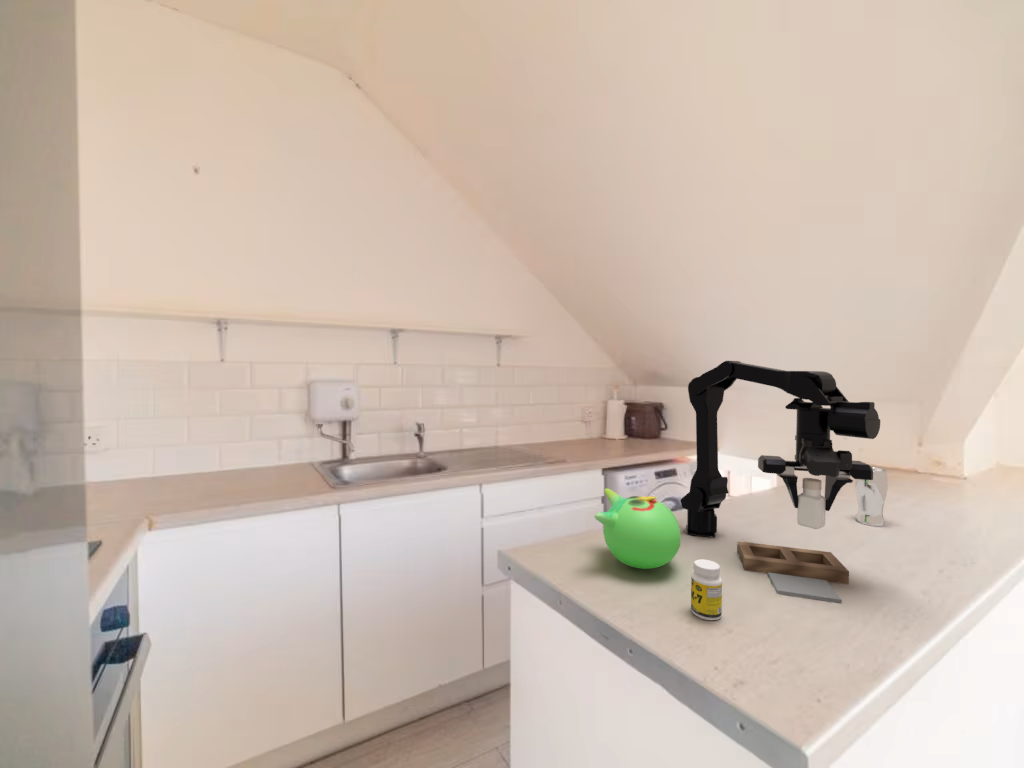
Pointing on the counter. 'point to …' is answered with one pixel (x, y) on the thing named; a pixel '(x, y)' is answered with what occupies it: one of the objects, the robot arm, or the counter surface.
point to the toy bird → (640, 530)
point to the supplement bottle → (706, 590)
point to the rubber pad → (803, 587)
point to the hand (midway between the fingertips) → (811, 509)
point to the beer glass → (872, 498)
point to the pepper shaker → (811, 505)
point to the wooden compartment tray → (792, 562)
